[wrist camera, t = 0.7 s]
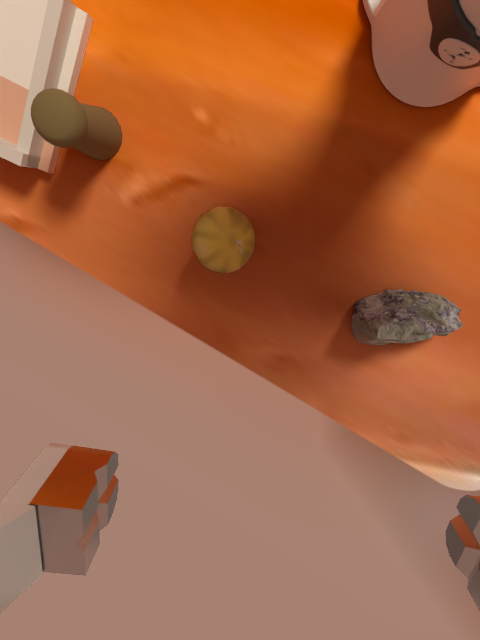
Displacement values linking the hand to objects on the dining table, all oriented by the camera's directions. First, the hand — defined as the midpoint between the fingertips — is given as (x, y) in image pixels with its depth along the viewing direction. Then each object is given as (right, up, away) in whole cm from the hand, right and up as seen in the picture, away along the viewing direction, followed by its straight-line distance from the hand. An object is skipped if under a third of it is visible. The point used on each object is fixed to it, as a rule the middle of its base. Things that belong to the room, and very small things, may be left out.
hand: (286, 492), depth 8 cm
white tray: (-28, +34, +33) cm, 55 cm away
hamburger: (-3, +16, +39) cm, 42 cm away
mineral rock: (+22, +5, +42) cm, 48 cm away
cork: (-19, +28, +35) cm, 49 cm away
